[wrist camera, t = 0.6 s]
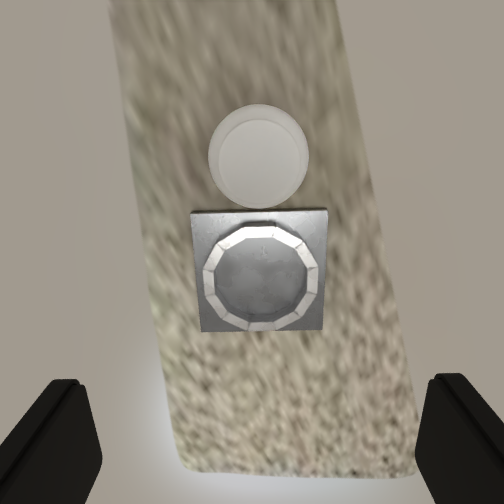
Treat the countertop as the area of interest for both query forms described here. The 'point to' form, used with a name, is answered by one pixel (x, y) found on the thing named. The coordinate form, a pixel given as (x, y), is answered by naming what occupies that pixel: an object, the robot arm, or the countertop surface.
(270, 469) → the countertop surface
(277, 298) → the ring plate
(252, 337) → the countertop surface
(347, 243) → the countertop surface
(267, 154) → the supplement bottle
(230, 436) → the countertop surface
